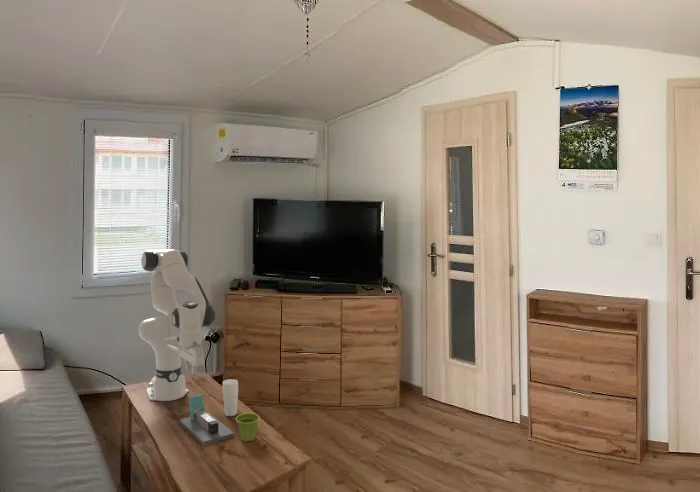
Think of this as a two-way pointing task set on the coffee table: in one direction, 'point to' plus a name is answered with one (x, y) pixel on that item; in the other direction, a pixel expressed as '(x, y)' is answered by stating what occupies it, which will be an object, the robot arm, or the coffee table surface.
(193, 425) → the plate
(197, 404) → the collar
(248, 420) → the plant pot
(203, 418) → the jaw
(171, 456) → the coffee table surface
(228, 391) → the white cup
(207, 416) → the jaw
